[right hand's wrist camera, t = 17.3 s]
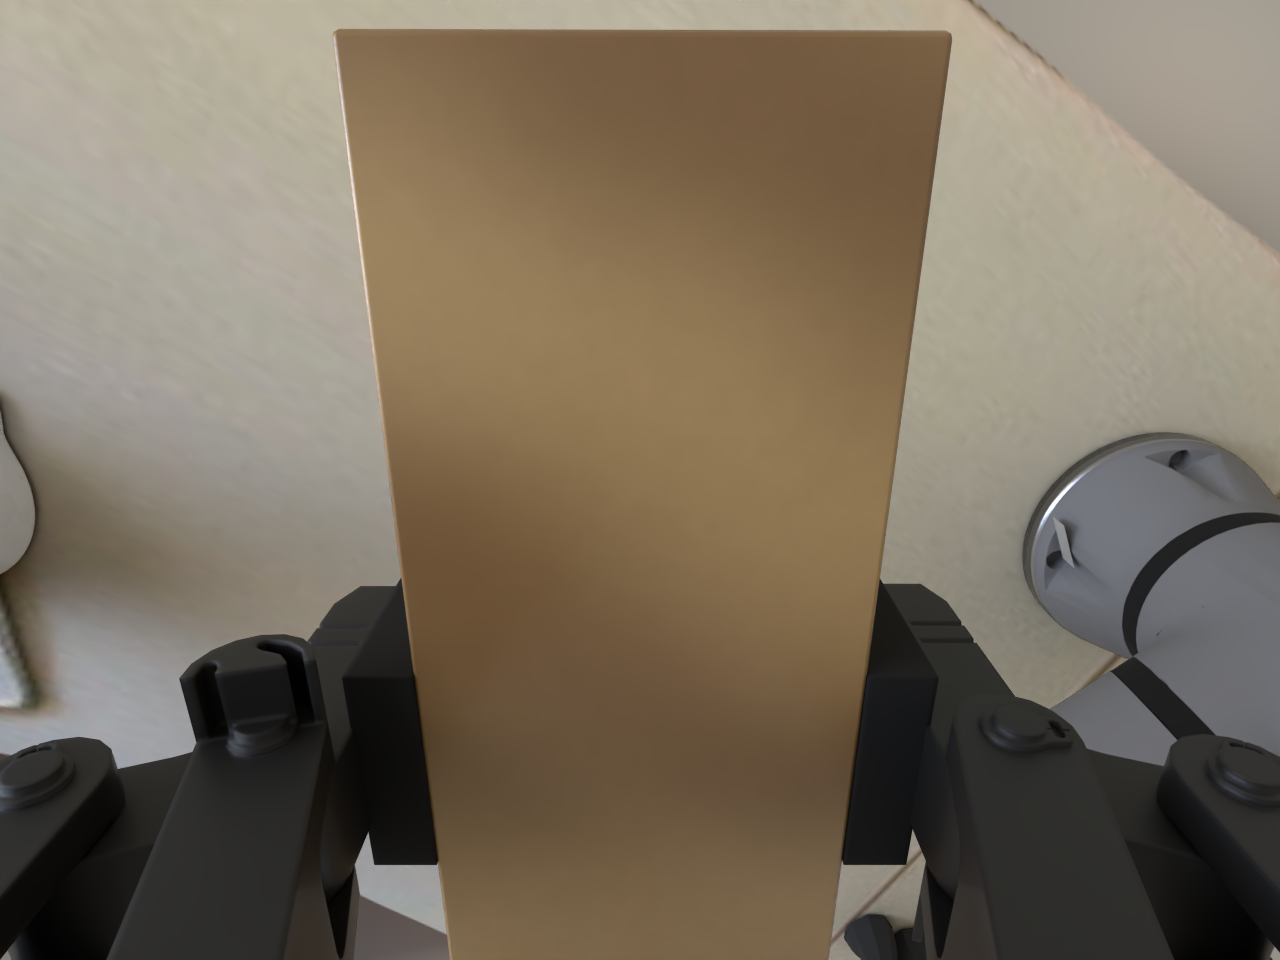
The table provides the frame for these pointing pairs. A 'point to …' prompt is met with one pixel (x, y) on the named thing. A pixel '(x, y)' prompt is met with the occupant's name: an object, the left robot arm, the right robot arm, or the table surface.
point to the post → (640, 457)
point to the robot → (882, 940)
